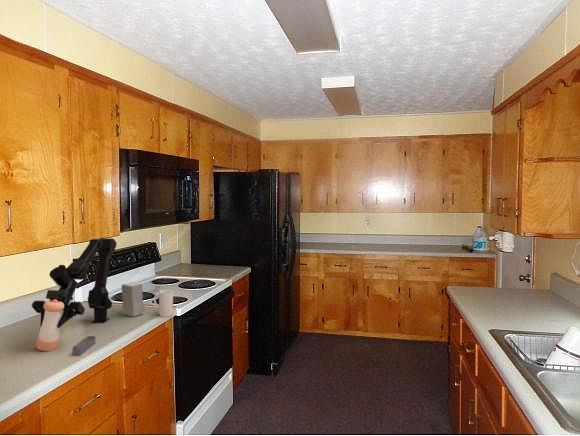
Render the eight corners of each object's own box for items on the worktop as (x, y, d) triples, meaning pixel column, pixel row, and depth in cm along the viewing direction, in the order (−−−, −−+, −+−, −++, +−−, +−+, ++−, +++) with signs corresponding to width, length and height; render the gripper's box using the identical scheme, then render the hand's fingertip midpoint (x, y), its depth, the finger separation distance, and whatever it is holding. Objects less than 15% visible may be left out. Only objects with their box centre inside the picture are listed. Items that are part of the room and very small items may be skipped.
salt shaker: (36, 351, 153) (45, 302, 151) (35, 342, 158) (43, 296, 157) (58, 350, 157) (67, 302, 155) (56, 341, 163) (64, 296, 161)
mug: (175, 313, 207) (175, 290, 207) (168, 317, 201) (169, 293, 200) (157, 312, 210) (157, 289, 209) (150, 315, 203) (150, 292, 202)
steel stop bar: (87, 343, 164) (88, 336, 164) (95, 343, 164) (95, 336, 164) (72, 355, 152) (72, 347, 152) (80, 355, 152) (80, 347, 152)
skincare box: (143, 314, 205) (144, 283, 204) (131, 317, 199) (132, 285, 198) (132, 311, 209) (133, 281, 208) (120, 314, 203) (121, 283, 202)
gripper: (34, 280, 160) (15, 315, 150) (81, 282, 160) (65, 317, 150) (46, 295, 169) (28, 330, 158) (91, 297, 169) (76, 331, 158)
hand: (49, 327), depth 156 cm, fingers open, 6 cm apart
